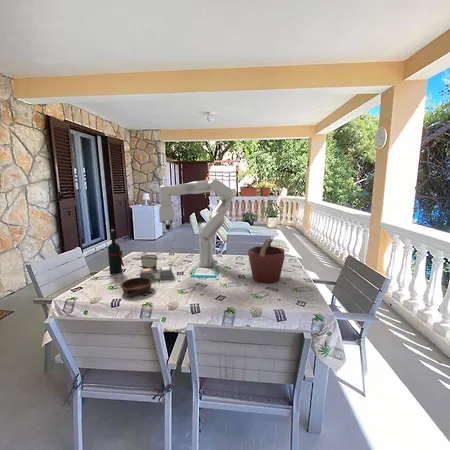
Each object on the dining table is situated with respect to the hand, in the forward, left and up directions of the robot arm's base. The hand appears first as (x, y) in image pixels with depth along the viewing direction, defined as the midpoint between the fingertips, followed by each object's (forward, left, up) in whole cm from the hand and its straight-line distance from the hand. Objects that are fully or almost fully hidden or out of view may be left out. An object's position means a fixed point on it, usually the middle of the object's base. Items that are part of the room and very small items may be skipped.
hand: (167, 230), depth 180 cm
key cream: (-6, +15, -25) cm, 30 cm away
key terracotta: (+4, +22, -25) cm, 33 cm away
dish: (-2, +39, -28) cm, 49 cm away
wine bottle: (+30, +18, -28) cm, 45 cm away
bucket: (-70, -1, -28) cm, 75 cm away
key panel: (-1, +18, -28) cm, 33 cm away
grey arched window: (+12, +5, -28) cm, 31 cm away
